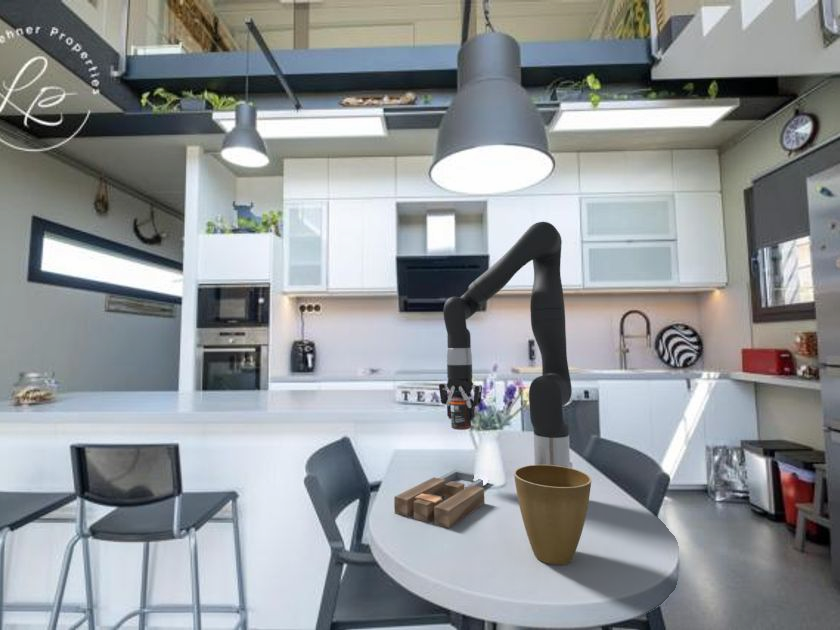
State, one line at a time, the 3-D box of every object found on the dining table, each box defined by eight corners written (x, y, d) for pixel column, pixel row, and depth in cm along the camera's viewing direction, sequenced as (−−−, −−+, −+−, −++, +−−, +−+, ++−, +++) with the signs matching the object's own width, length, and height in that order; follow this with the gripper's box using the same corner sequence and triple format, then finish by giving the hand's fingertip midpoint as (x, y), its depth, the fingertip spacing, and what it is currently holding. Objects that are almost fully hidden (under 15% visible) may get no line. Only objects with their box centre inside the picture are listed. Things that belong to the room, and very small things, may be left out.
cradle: (489, 483, 130) (489, 476, 130) (469, 495, 120) (469, 488, 120) (454, 476, 136) (454, 469, 137) (433, 487, 127) (433, 480, 127)
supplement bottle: (469, 426, 132) (468, 388, 133) (472, 430, 126) (471, 391, 127) (450, 426, 132) (449, 389, 132) (452, 430, 126) (451, 391, 126)
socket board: (484, 503, 114) (484, 486, 114) (448, 528, 99) (448, 509, 99) (433, 491, 123) (433, 476, 123) (394, 512, 108) (394, 495, 109)
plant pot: (580, 585, 76) (577, 492, 77) (503, 560, 85) (501, 477, 86) (603, 551, 88) (600, 471, 88) (533, 532, 97) (531, 459, 97)
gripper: (486, 362, 129) (488, 419, 128) (445, 362, 137) (447, 415, 136) (474, 364, 123) (476, 424, 122) (432, 363, 131) (433, 419, 130)
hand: (460, 419), depth 129 cm, fingers closed on supplement bottle, 6 cm apart
